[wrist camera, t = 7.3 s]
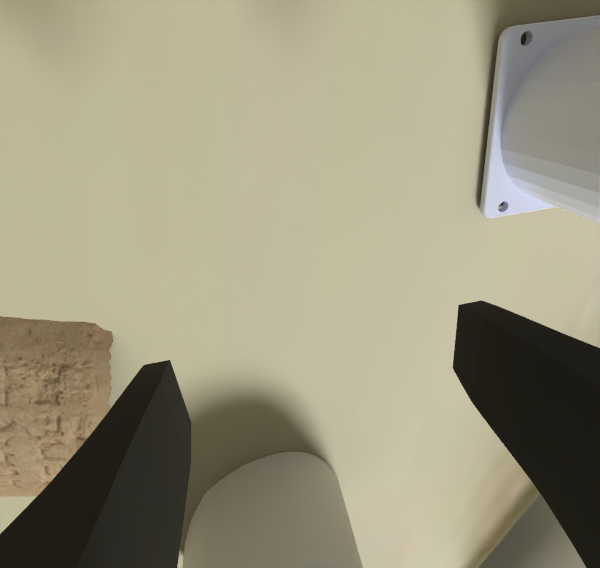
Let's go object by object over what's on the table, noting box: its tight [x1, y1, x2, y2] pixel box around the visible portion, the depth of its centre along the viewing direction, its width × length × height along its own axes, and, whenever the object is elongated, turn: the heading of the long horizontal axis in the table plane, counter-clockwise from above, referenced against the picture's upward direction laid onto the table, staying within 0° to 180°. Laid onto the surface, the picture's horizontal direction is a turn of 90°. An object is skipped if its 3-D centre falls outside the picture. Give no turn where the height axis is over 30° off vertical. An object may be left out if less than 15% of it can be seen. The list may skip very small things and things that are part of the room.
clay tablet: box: [0, 317, 113, 497], centre depth 20 cm, size 14×10×3 cm
